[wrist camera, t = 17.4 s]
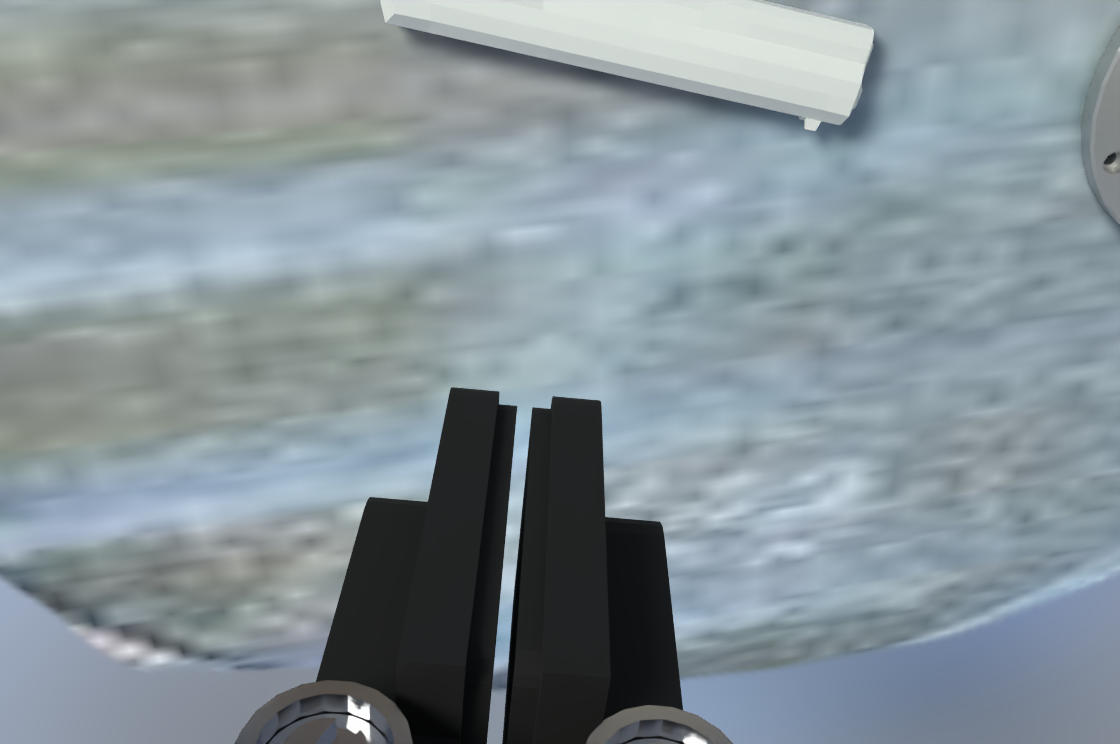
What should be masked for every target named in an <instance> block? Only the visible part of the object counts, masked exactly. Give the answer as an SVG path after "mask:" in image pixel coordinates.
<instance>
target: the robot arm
mask: <svg viewBox="0 0 1120 744" xmlns="http://www.w3.org/2000/svg"><path fill="white" fill-rule="evenodd" d="M1081 139H1082V158H1083V162H1084V166H1085V169H1086V173H1087V177H1088V181H1089V184H1090V186H1091V187H1092V189H1093V191H1094V193H1095V195H1096V197H1097V198H1098V200H1099V202H1100V204H1101V206H1102V207H1103V208H1104V209H1105V210H1106V211H1107V212H1108V213H1109V214H1110V215H1111V217H1112V218H1113V219H1114V220H1115V221H1116V222H1117V223H1118V224H1119V225H1120V26H1119V27H1118V28H1117V30H1116V32H1115V33H1114V35H1113V37H1112V39H1111V40H1110V42H1109V44H1108V46H1107V48H1106V49H1105V51H1104V53H1103V55H1102V56H1101V58H1100V60H1099V62H1098V65H1097V67H1096V70H1095V73H1094V76H1093V78H1092V81H1091V84H1090V87H1089V89H1088V92H1087V95H1086V101H1085V107H1084V113H1083V118H1082V124H1081ZM1110 154H1111V155H1110ZM1109 155H1110V157H1109V158H1108V159H1106V158H1107V157H1108V156H1109ZM516 413H517V406H511V405H499V392H498V391H487V390H476V389H465V388H453V387H452V388H451V390H450V394H449V399H448V404H447V409H446V414H445V419H444V424H443V429H442V434H441V439H440V444H439V449H438V454H437V459H436V464H435V469H434V474H433V479H432V484H431V490H430V495H429V500H428V502H421V501H410V500H398V499H386V498H375V497H370V498H369V499H368V501H367V503H366V506H365V509H364V512H363V515H362V519H361V523H360V526H359V530H358V533H357V537H356V540H355V544H354V548H353V551H352V555H351V558H350V562H349V565H348V569H347V573H346V576H345V580H344V583H343V587H342V591H341V594H340V598H339V601H338V605H337V608H336V612H335V616H334V619H333V623H332V626H331V630H330V633H329V637H328V641H327V644H326V648H325V651H324V655H323V658H322V662H321V666H320V669H319V673H318V676H317V680H316V682H313V683H307V684H302V685H299V686H297V687H295V688H292V689H290V690H288V691H285V692H283V693H280V694H278V695H276V696H275V697H274V698H272V699H271V700H270V701H268V702H267V703H266V704H265V705H263V706H262V707H261V708H259V709H258V710H257V711H256V712H255V713H254V714H253V716H252V717H251V718H250V720H249V721H248V723H247V724H246V725H245V726H244V728H243V729H242V730H241V732H240V734H239V736H238V738H237V740H236V741H235V743H234V744H487V733H488V722H489V711H490V700H491V689H492V679H493V668H494V657H495V646H496V635H497V624H498V613H499V602H500V591H501V580H502V569H503V558H504V547H505V536H506V524H507V513H508V502H509V491H510V480H511V469H512V458H513V447H514V435H515V424H516ZM502 744H733V743H732V742H731V741H730V740H729V739H728V738H727V737H726V736H725V734H724V733H723V732H722V731H721V730H720V729H718V728H717V727H715V726H714V725H711V724H710V723H708V722H707V721H706V720H704V719H703V718H701V717H699V716H698V715H695V714H692V713H689V712H686V711H683V706H682V697H681V688H680V678H679V669H678V660H677V651H676V641H675V632H674V623H673V614H672V604H671V595H670V586H669V577H668V568H667V558H666V549H665V540H664V533H663V527H662V525H661V523H660V522H656V521H644V520H632V519H620V518H609V517H605V498H604V469H603V440H602V412H601V401H598V400H587V399H576V398H565V397H554V396H553V398H552V404H551V409H544V408H533V409H532V418H531V428H530V438H529V448H528V458H527V468H526V478H525V488H524V498H523V508H522V518H521V528H520V539H519V549H518V559H517V569H516V579H515V589H514V600H513V612H512V625H511V638H510V651H509V664H508V677H507V691H506V704H505V717H504V731H503V743H502Z"/></svg>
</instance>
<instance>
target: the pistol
mask: <svg viewBox="0 0 1120 744" xmlns="http://www.w3.org/2000/svg"><path fill="white" fill-rule="evenodd" d="M380 2H381V6H382V10H383V14H384V19H385V23H388V24H393V25H397V26H401V27H406V28H410V29H415V30H419V31H424V32H428V33H432V34H437V35H441V36H446V37H450V38H455V39H459V40H463V41H468V42H472V43H477V44H481V45H486V46H490V47H494V48H499V49H503V50H508V51H512V52H517V53H521V54H525V55H530V56H534V57H539V58H543V59H548V60H552V61H557V62H561V63H565V64H570V65H574V66H579V67H583V68H588V69H592V70H596V71H601V72H605V73H610V74H614V75H619V76H623V77H627V78H632V79H636V80H641V81H645V82H650V83H654V84H658V85H663V86H667V87H672V88H676V89H681V90H685V91H689V92H694V93H698V94H703V95H707V96H712V97H716V98H721V99H725V100H729V101H734V102H738V103H743V104H747V105H752V106H756V107H760V108H765V109H769V110H774V111H778V112H783V113H787V114H791V115H796V116H799V118H798V119H800V120H804V124H805V129H807V130H811V131H816V129H817V128H818V126H819V124H820V123H821V121H822V122H827V123H831V124H836V125H841V124H842V123H843V122H844V121H845V120H846V119H847V118H848V117H849V115H850V113H851V110H853V109H854V108H856V106H857V103H858V101H859V98H860V96H861V93H862V78H863V75H864V72H865V69H866V66H867V63H868V60H869V57H870V55H871V52H872V49H873V47H874V44H873V43H872V42H873V37H874V30H873V29H872V28H871V27H870V26H869V25H866V24H861V23H857V22H853V21H849V20H844V19H840V18H836V17H832V16H827V15H823V14H819V13H814V12H810V11H806V10H802V9H797V8H793V7H789V6H785V5H780V4H776V3H772V2H767V1H763V0H380Z"/></svg>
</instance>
